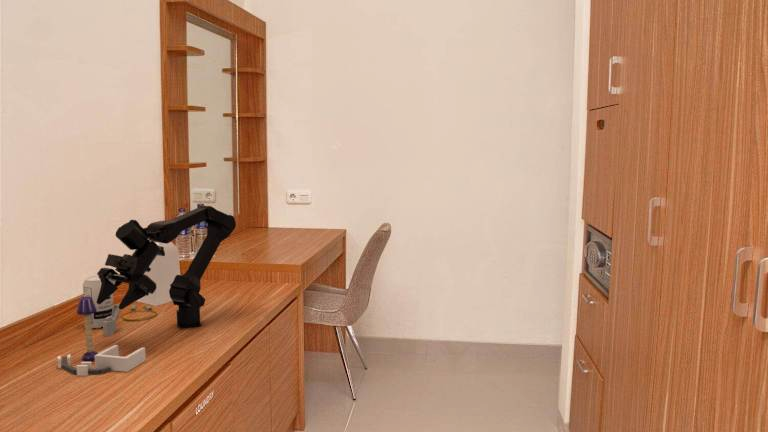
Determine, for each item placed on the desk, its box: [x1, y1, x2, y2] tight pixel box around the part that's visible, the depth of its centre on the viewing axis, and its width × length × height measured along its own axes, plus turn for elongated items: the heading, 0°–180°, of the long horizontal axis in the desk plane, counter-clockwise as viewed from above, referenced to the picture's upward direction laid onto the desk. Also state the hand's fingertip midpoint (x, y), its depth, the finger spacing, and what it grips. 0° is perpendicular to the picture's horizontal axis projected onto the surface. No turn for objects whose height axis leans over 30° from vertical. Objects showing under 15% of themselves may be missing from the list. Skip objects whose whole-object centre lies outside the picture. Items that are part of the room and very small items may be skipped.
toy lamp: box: [76, 296, 99, 362], centre depth 158 cm, size 5×5×17 cm
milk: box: [134, 241, 181, 307], centre depth 215 cm, size 12×12×26 cm
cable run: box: [61, 355, 112, 375], centre depth 152 cm, size 6×17×1 cm, turn 64°
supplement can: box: [82, 275, 114, 329], centre depth 186 cm, size 8×8×15 cm
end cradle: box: [94, 344, 147, 373], centre depth 155 cm, size 8×9×4 cm
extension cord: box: [120, 303, 159, 322], centre depth 199 cm, size 12×16×2 cm
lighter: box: [102, 303, 121, 337], centre depth 180 cm, size 7×2×8 cm, turn 171°
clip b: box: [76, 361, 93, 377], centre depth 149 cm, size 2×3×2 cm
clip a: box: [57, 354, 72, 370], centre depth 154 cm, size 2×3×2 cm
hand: (108, 306), depth 163 cm, fingers open, 9 cm apart
